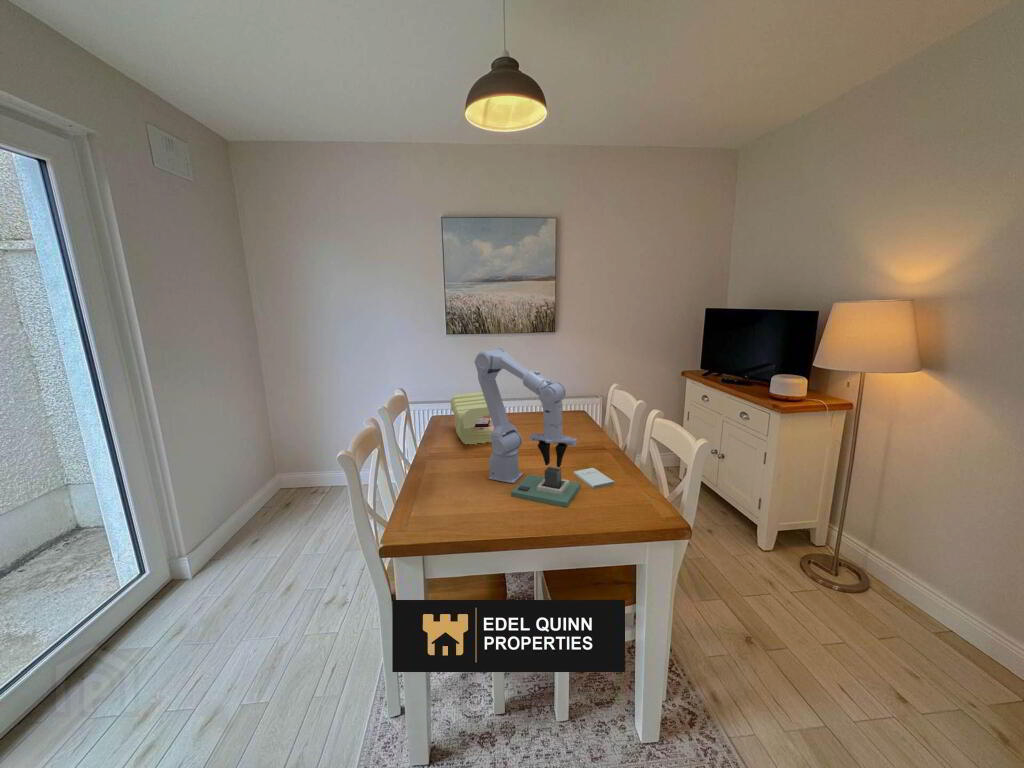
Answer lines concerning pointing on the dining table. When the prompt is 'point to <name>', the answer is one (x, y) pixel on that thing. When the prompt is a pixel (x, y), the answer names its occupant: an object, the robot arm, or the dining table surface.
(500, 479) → the robot arm
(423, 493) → the dining table surface
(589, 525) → the dining table surface
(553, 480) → the dark grey block
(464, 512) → the dining table surface
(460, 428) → the ridged pale green box
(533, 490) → the board
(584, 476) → the external hard drive
